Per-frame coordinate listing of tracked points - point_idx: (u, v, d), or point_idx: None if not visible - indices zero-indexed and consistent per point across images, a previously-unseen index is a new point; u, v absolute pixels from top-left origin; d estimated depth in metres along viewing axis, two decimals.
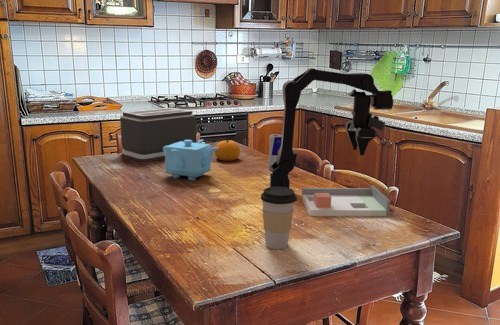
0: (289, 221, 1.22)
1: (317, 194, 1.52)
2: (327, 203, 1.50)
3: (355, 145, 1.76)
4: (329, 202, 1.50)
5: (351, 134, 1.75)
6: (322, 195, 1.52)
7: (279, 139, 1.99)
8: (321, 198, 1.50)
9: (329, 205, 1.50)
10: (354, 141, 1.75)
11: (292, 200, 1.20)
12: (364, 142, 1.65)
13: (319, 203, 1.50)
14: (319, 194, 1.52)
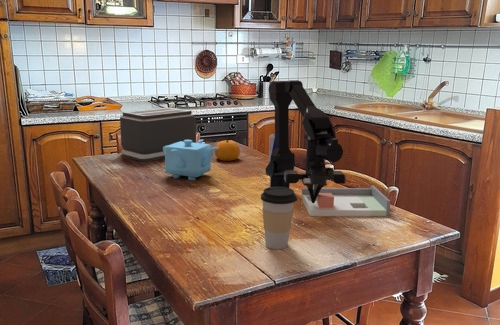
0: (289, 221, 1.22)
1: (320, 194, 1.52)
2: (330, 203, 1.50)
3: None
4: (332, 202, 1.50)
5: (314, 184, 1.52)
6: (325, 195, 1.52)
7: None
8: (324, 198, 1.50)
9: (332, 205, 1.51)
10: (314, 193, 1.52)
11: (292, 200, 1.20)
12: None
13: (322, 203, 1.50)
14: (322, 194, 1.52)
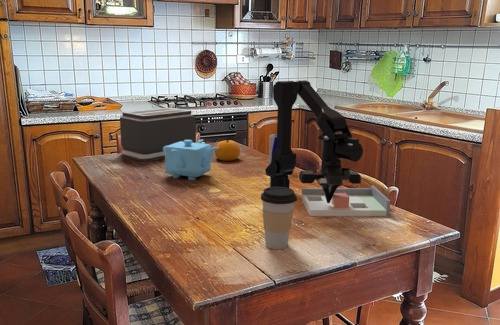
0: (289, 221, 1.22)
1: (335, 194, 1.53)
2: (345, 203, 1.51)
3: None
4: (347, 202, 1.51)
5: (329, 184, 1.53)
6: (340, 195, 1.52)
7: None
8: (339, 198, 1.50)
9: (347, 205, 1.51)
10: None
11: (292, 200, 1.20)
12: None
13: (337, 203, 1.50)
14: (337, 194, 1.53)
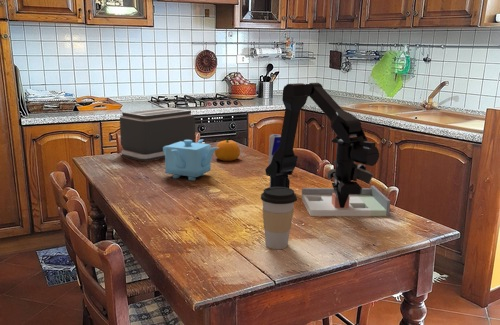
0: (289, 221, 1.22)
1: (335, 194, 1.53)
2: None
3: None
4: (347, 202, 1.51)
5: None
6: None
7: (279, 139, 1.99)
8: None
9: (347, 205, 1.51)
10: None
11: (292, 200, 1.20)
12: (344, 193, 1.47)
13: (337, 203, 1.50)
14: None
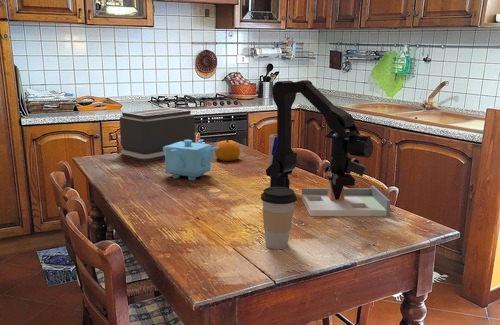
0: (289, 221, 1.22)
1: None
2: (341, 196, 1.58)
3: None
4: (342, 195, 1.58)
5: None
6: None
7: None
8: None
9: (342, 198, 1.58)
10: None
11: (292, 200, 1.20)
12: (339, 186, 1.54)
13: (333, 196, 1.58)
14: None
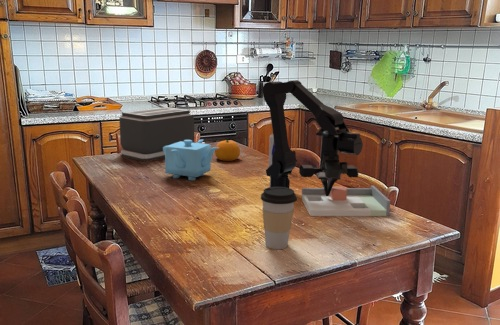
0: (289, 221, 1.22)
1: (333, 187, 1.60)
2: (343, 196, 1.58)
3: None
4: (345, 195, 1.58)
5: (328, 178, 1.60)
6: (338, 188, 1.59)
7: None
8: (337, 191, 1.57)
9: (345, 198, 1.58)
10: None
11: (292, 200, 1.20)
12: None
13: (335, 195, 1.58)
14: (335, 187, 1.60)
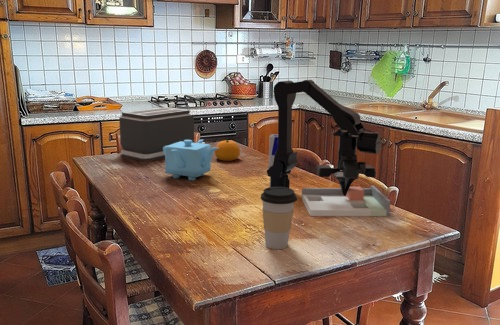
0: (289, 221, 1.22)
1: (350, 187, 1.60)
2: (360, 196, 1.58)
3: None
4: (362, 195, 1.58)
5: (345, 178, 1.60)
6: (355, 188, 1.60)
7: None
8: (354, 191, 1.58)
9: (362, 198, 1.59)
10: None
11: (292, 200, 1.20)
12: None
13: (352, 196, 1.58)
14: (352, 187, 1.60)
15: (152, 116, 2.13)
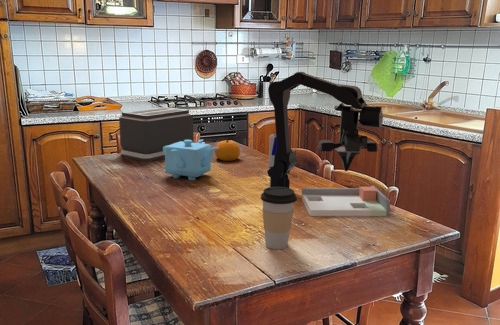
0: (289, 221, 1.22)
1: (362, 188, 1.61)
2: (373, 196, 1.59)
3: None
4: (374, 195, 1.59)
5: (347, 153, 1.61)
6: (368, 188, 1.60)
7: None
8: (367, 191, 1.58)
9: (374, 198, 1.59)
10: None
11: (292, 200, 1.20)
12: None
13: (365, 196, 1.58)
14: (364, 188, 1.61)
15: (152, 116, 2.13)
